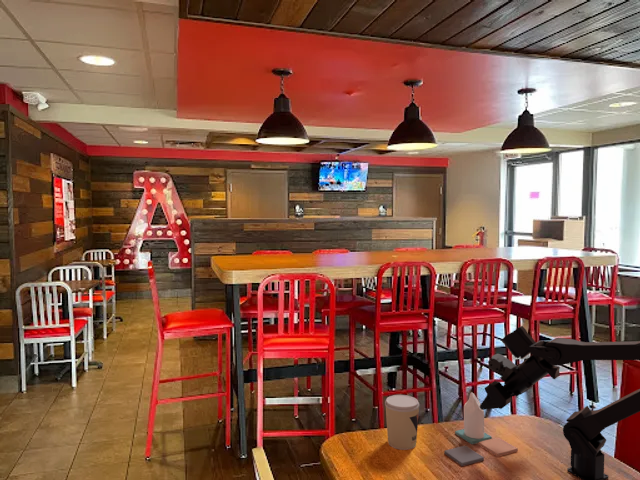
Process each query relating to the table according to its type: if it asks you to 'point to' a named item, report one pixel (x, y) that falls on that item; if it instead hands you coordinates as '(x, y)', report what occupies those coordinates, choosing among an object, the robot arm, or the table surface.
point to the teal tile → (472, 440)
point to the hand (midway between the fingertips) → (488, 403)
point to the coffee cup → (402, 421)
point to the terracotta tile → (498, 446)
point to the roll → (473, 418)
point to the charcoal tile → (464, 455)
